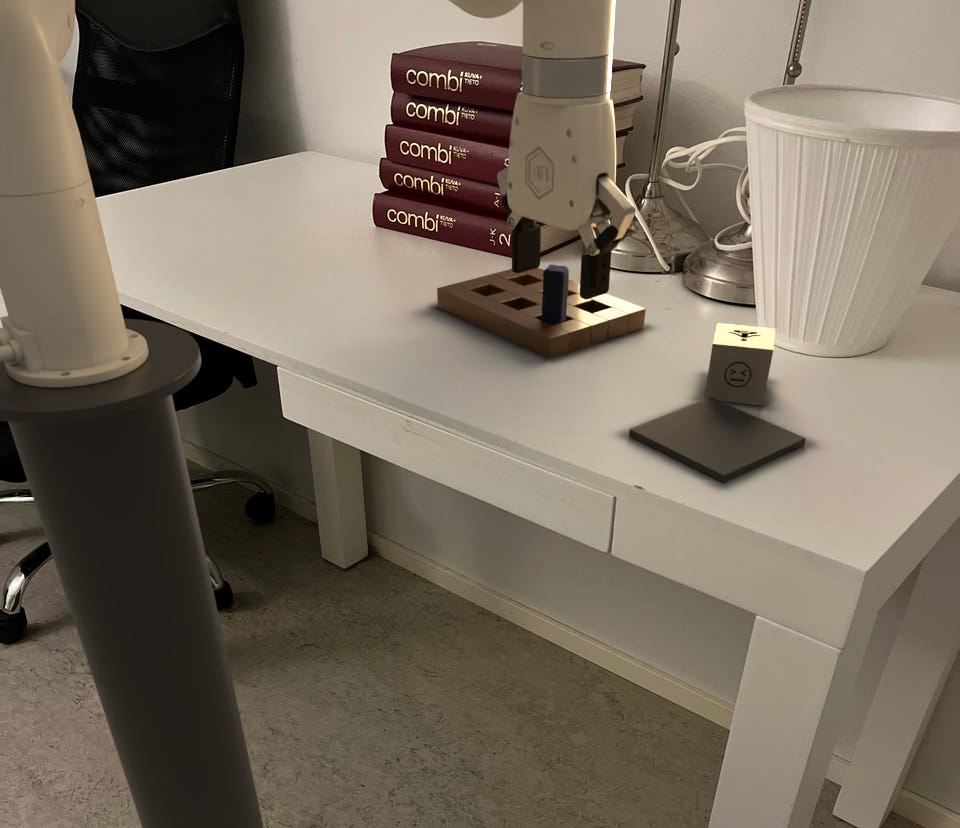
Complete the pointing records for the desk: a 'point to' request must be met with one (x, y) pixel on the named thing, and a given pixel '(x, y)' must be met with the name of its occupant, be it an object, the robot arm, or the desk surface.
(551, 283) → the eraser
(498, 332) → the holder
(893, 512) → the desk surface
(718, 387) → the dice cube
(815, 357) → the desk surface
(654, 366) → the desk surface
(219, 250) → the desk surface
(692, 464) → the coaster
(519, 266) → the robot arm
